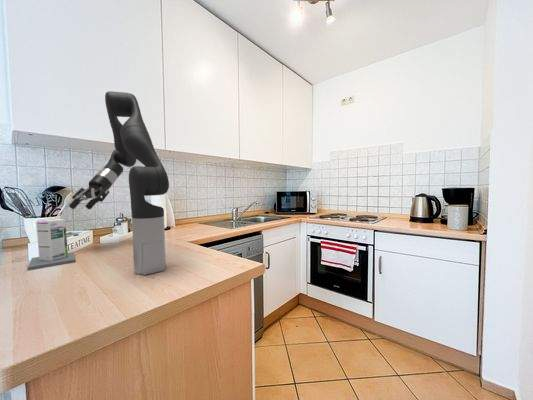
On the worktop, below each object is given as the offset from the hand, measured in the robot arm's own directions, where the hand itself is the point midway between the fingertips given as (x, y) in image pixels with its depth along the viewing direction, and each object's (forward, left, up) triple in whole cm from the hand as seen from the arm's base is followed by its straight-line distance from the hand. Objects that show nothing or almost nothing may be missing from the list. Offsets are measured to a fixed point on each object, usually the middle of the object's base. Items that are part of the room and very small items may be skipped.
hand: (79, 207), depth 93 cm
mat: (-6, +8, -19) cm, 21 cm away
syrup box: (-6, +8, -18) cm, 21 cm away
